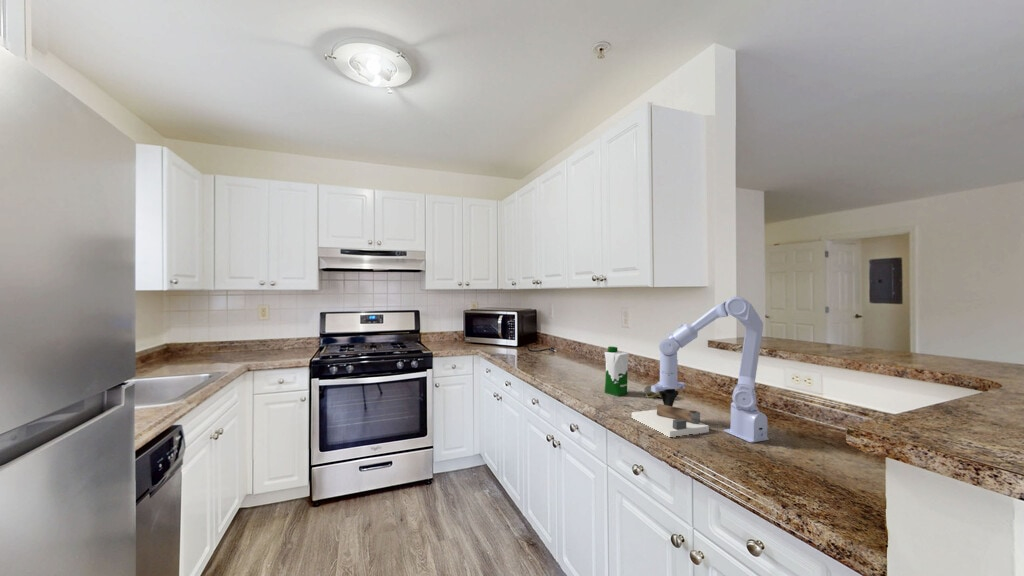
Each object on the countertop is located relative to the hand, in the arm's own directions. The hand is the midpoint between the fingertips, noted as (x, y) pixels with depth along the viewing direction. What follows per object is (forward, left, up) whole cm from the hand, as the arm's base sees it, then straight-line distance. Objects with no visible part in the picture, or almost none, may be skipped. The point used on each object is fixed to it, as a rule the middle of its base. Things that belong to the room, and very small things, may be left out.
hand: (667, 410), depth 127 cm
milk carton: (+33, -2, -3) cm, 33 cm away
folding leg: (-5, 0, -1) cm, 5 cm away
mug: (+24, -16, -4) cm, 29 cm away
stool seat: (-4, +4, -3) cm, 6 cm away
